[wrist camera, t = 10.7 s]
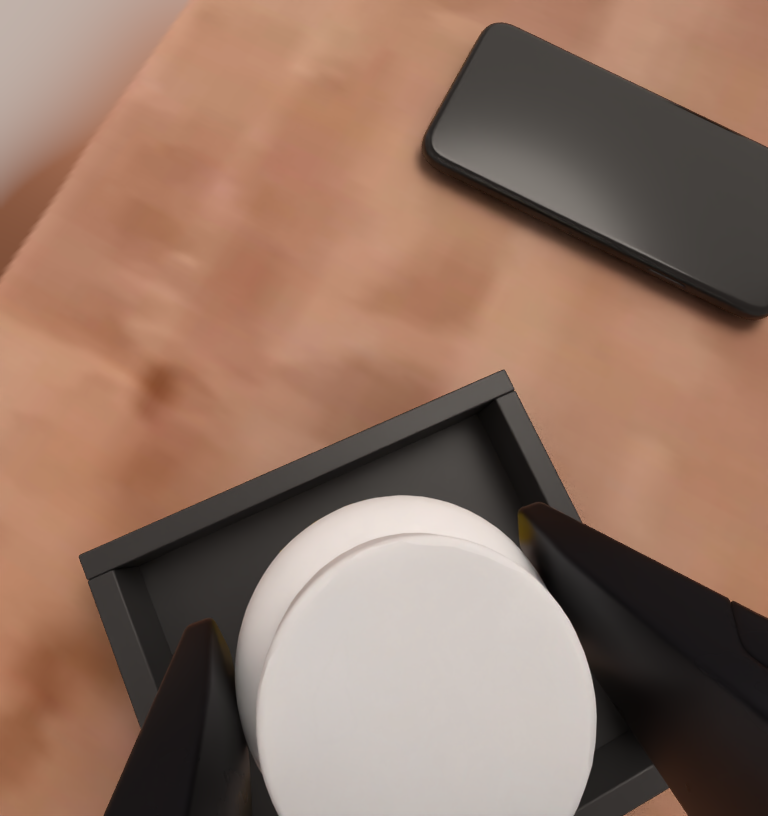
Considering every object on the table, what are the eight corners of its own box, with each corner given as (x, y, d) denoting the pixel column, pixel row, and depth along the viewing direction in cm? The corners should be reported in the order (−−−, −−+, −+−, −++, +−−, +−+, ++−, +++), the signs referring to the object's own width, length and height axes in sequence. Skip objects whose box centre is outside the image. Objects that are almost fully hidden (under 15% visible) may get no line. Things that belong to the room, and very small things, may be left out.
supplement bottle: (238, 573, 16) (110, 606, 7) (413, 479, 17) (514, 395, 8) (330, 766, 15) (330, 1115, 6) (508, 656, 16) (753, 804, 7)
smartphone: (410, 163, 25) (759, 333, 25) (413, 150, 24) (774, 325, 24) (486, 27, 27) (812, 183, 27) (491, 9, 26) (828, 171, 26)
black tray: (653, 734, 21) (707, 766, 18) (264, 960, 19) (252, 1040, 16) (482, 390, 23) (504, 368, 20) (113, 553, 21) (77, 555, 18)
